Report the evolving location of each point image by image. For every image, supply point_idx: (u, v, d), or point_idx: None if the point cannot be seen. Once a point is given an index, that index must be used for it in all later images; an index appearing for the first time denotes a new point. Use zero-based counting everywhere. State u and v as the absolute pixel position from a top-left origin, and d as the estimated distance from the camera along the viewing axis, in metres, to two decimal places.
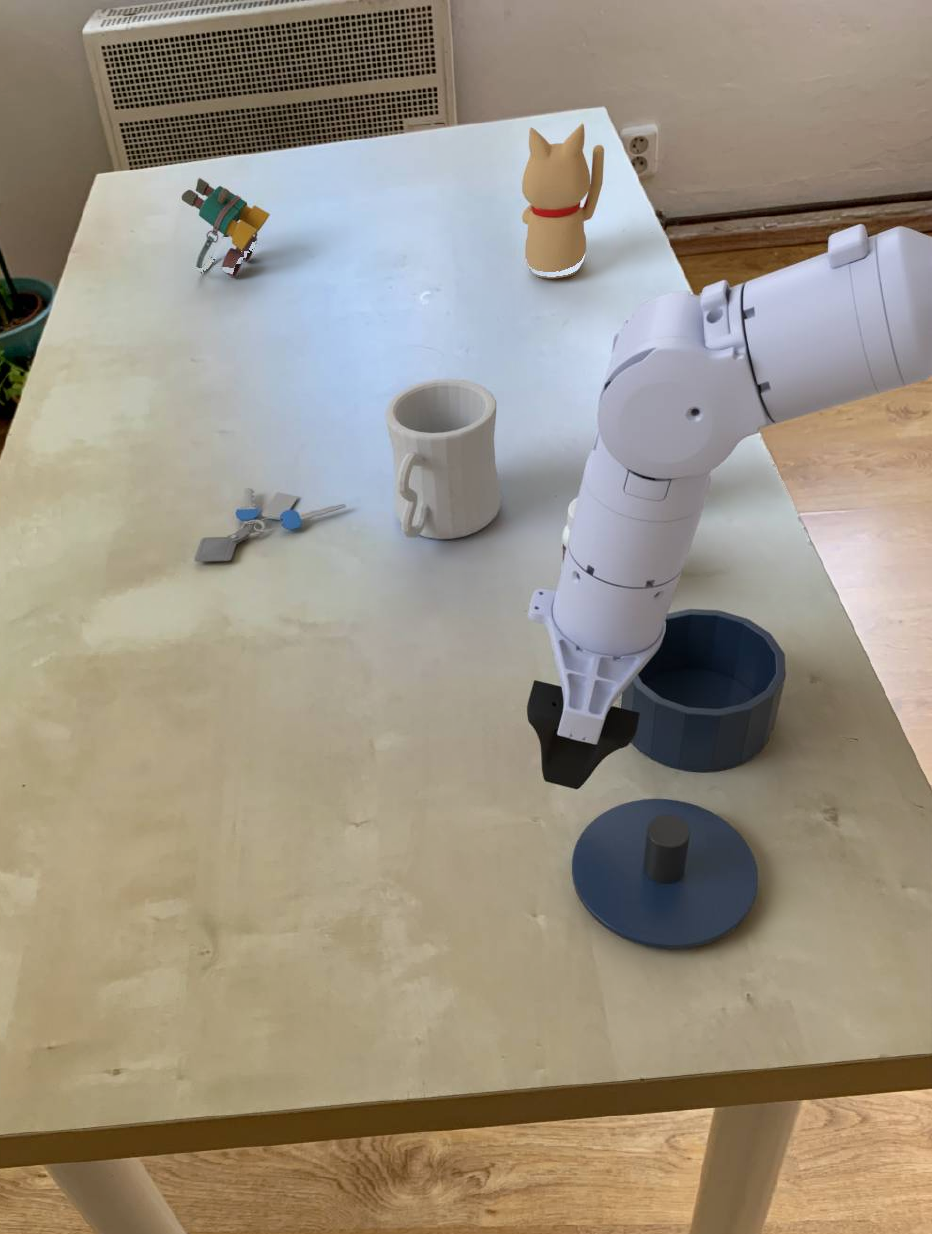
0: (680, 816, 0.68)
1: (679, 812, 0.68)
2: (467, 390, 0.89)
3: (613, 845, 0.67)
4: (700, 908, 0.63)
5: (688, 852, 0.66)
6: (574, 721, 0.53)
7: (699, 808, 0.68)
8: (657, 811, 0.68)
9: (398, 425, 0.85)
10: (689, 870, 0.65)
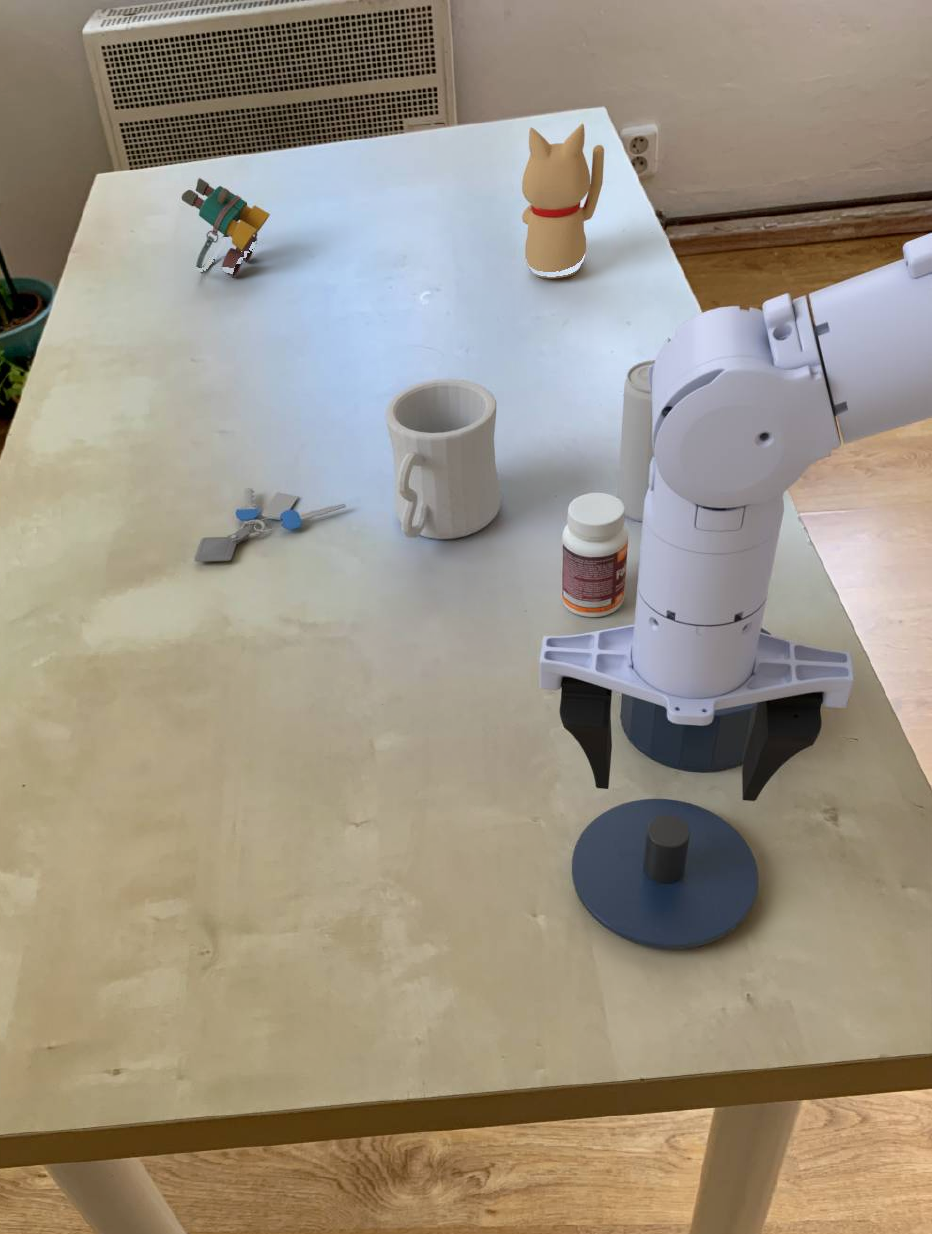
0: (680, 816, 0.68)
1: (679, 812, 0.68)
2: (467, 390, 0.89)
3: (613, 845, 0.67)
4: (700, 908, 0.63)
5: (688, 852, 0.66)
6: None
7: (699, 808, 0.68)
8: (657, 811, 0.68)
9: (398, 425, 0.85)
10: (689, 870, 0.65)
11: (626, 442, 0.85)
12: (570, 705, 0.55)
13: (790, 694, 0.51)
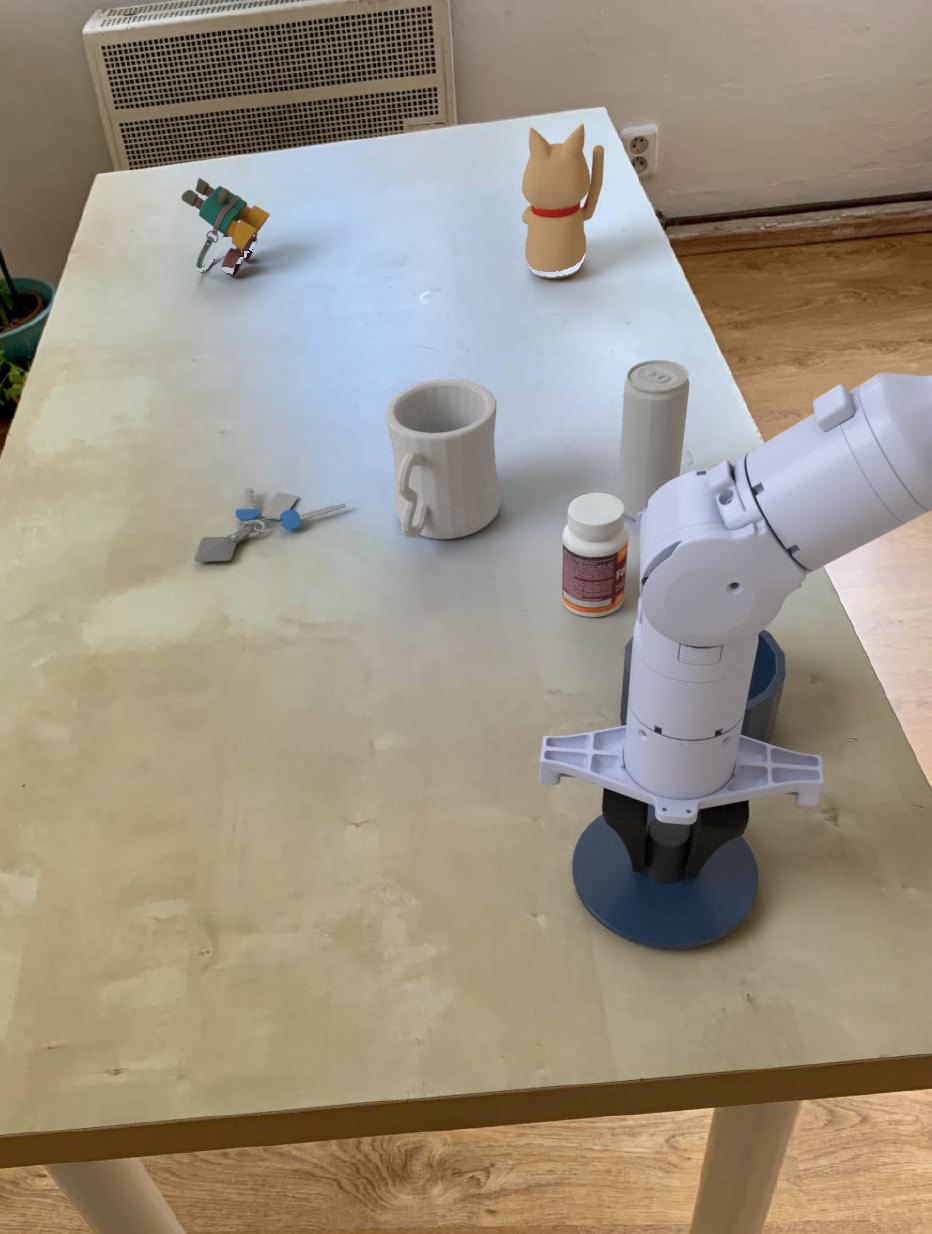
0: None
1: None
2: (467, 390, 0.89)
3: (613, 845, 0.67)
4: (700, 908, 0.63)
5: None
6: None
7: None
8: None
9: (398, 425, 0.85)
10: None
11: (626, 442, 0.85)
12: (611, 803, 0.59)
13: (767, 795, 0.56)
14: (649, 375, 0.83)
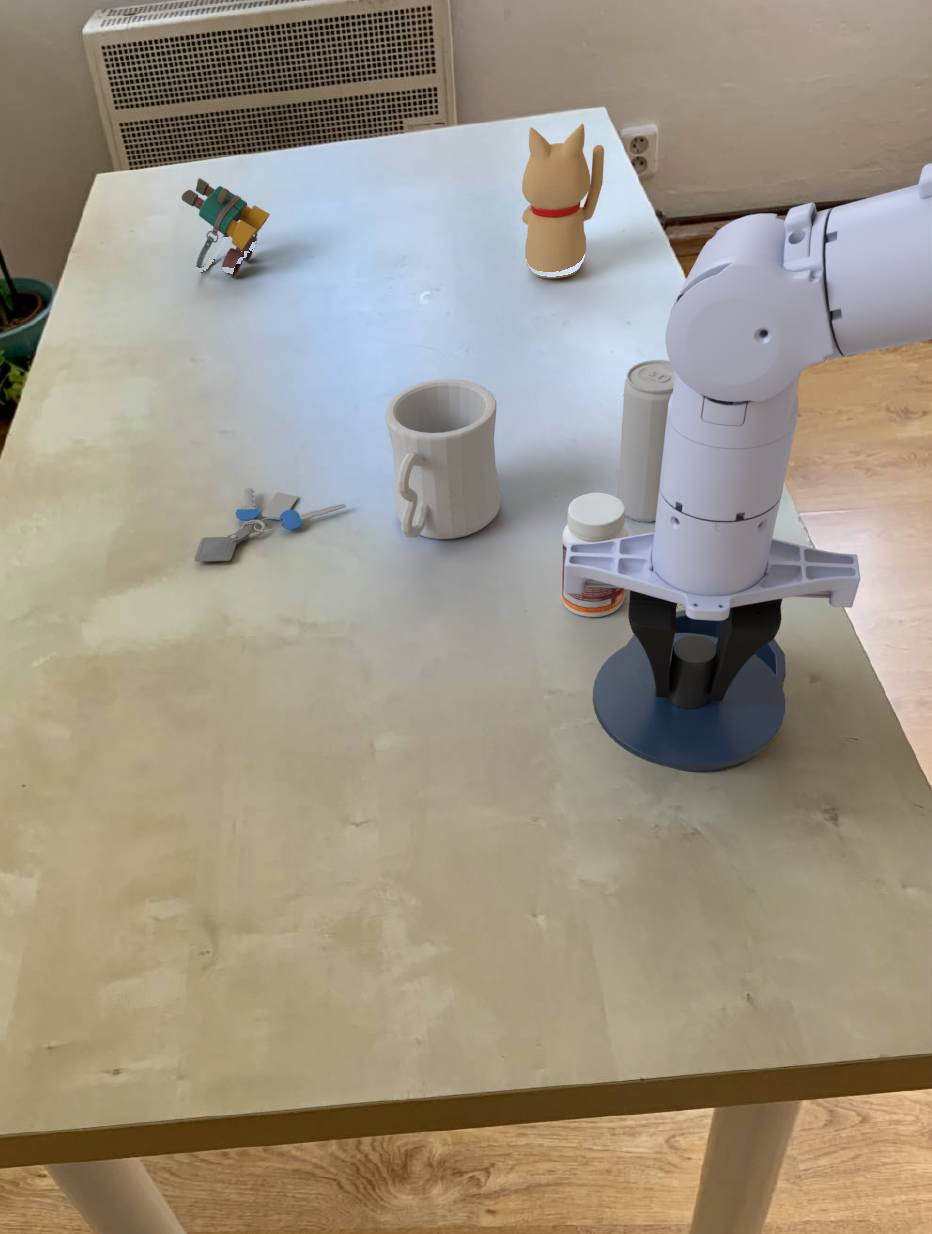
0: None
1: None
2: (467, 390, 0.89)
3: (635, 675, 0.65)
4: (726, 731, 0.61)
5: None
6: None
7: None
8: None
9: (398, 425, 0.85)
10: None
11: (626, 442, 0.85)
12: (638, 610, 0.57)
13: (800, 593, 0.55)
14: (649, 375, 0.83)
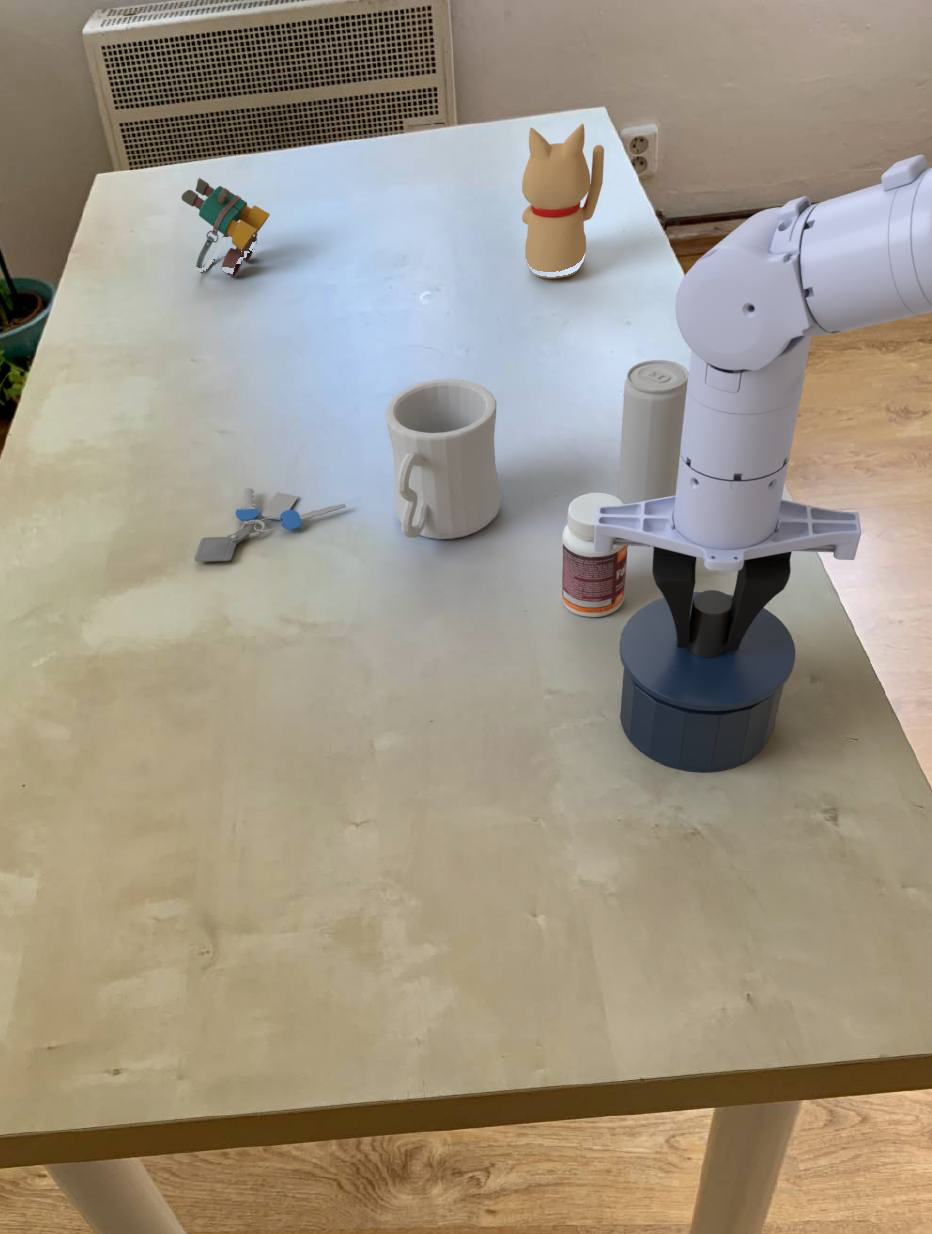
0: None
1: None
2: (467, 390, 0.89)
3: (658, 629, 0.71)
4: (742, 676, 0.67)
5: None
6: None
7: None
8: None
9: (398, 425, 0.85)
10: None
11: (626, 442, 0.85)
12: (661, 565, 0.64)
13: (807, 546, 0.61)
14: (649, 375, 0.83)
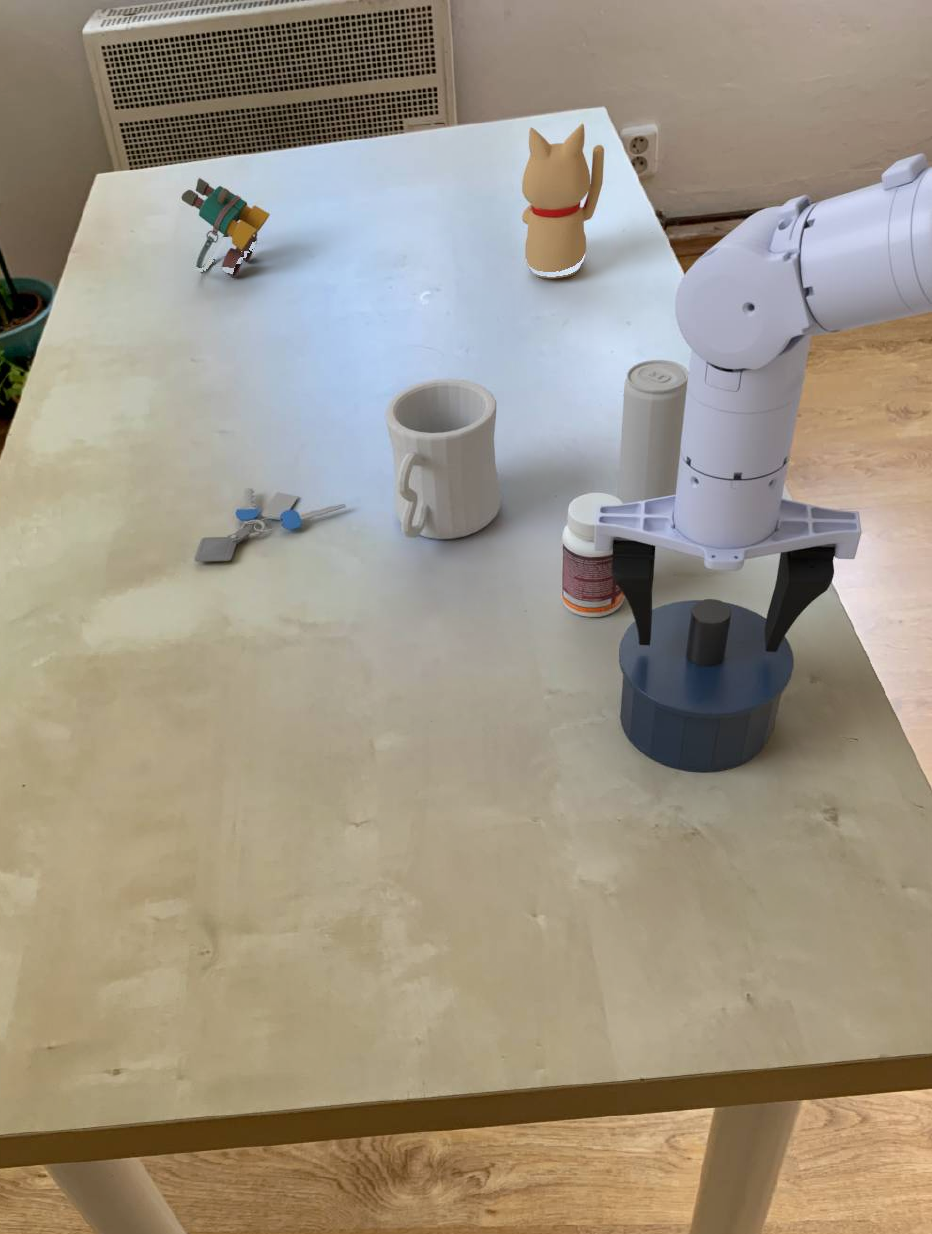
0: None
1: None
2: (467, 390, 0.89)
3: (657, 637, 0.72)
4: (740, 684, 0.68)
5: (727, 641, 0.71)
6: None
7: (737, 606, 0.73)
8: None
9: (398, 425, 0.85)
10: (729, 655, 0.70)
11: (626, 442, 0.85)
12: (620, 563, 0.64)
13: (808, 545, 0.61)
14: (649, 375, 0.83)
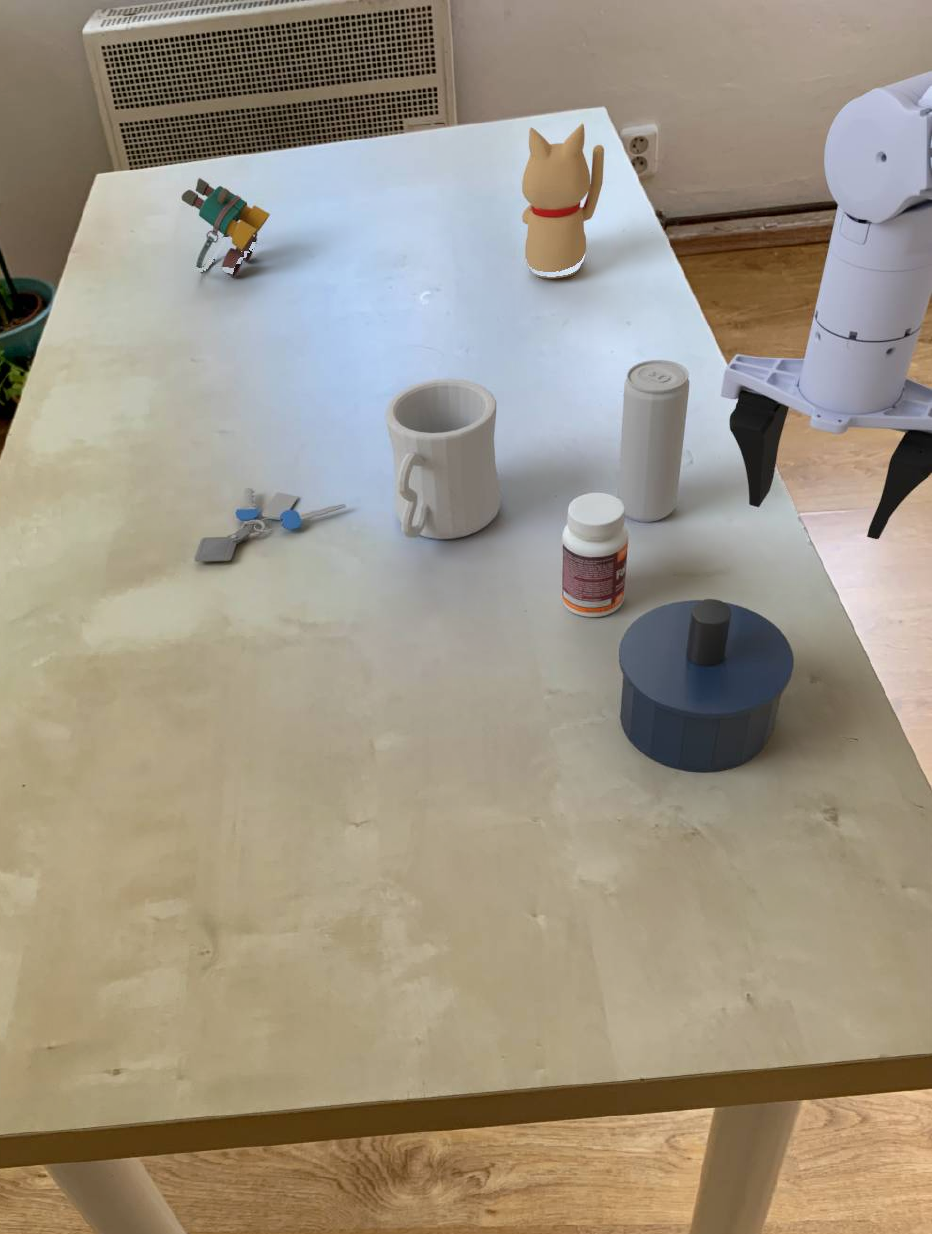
0: None
1: None
2: (467, 390, 0.89)
3: (657, 637, 0.72)
4: (740, 684, 0.68)
5: (727, 641, 0.71)
6: None
7: (737, 606, 0.73)
8: None
9: (398, 425, 0.85)
10: (729, 655, 0.70)
11: (626, 442, 0.85)
12: (740, 413, 0.68)
13: (919, 427, 0.62)
14: (649, 375, 0.83)
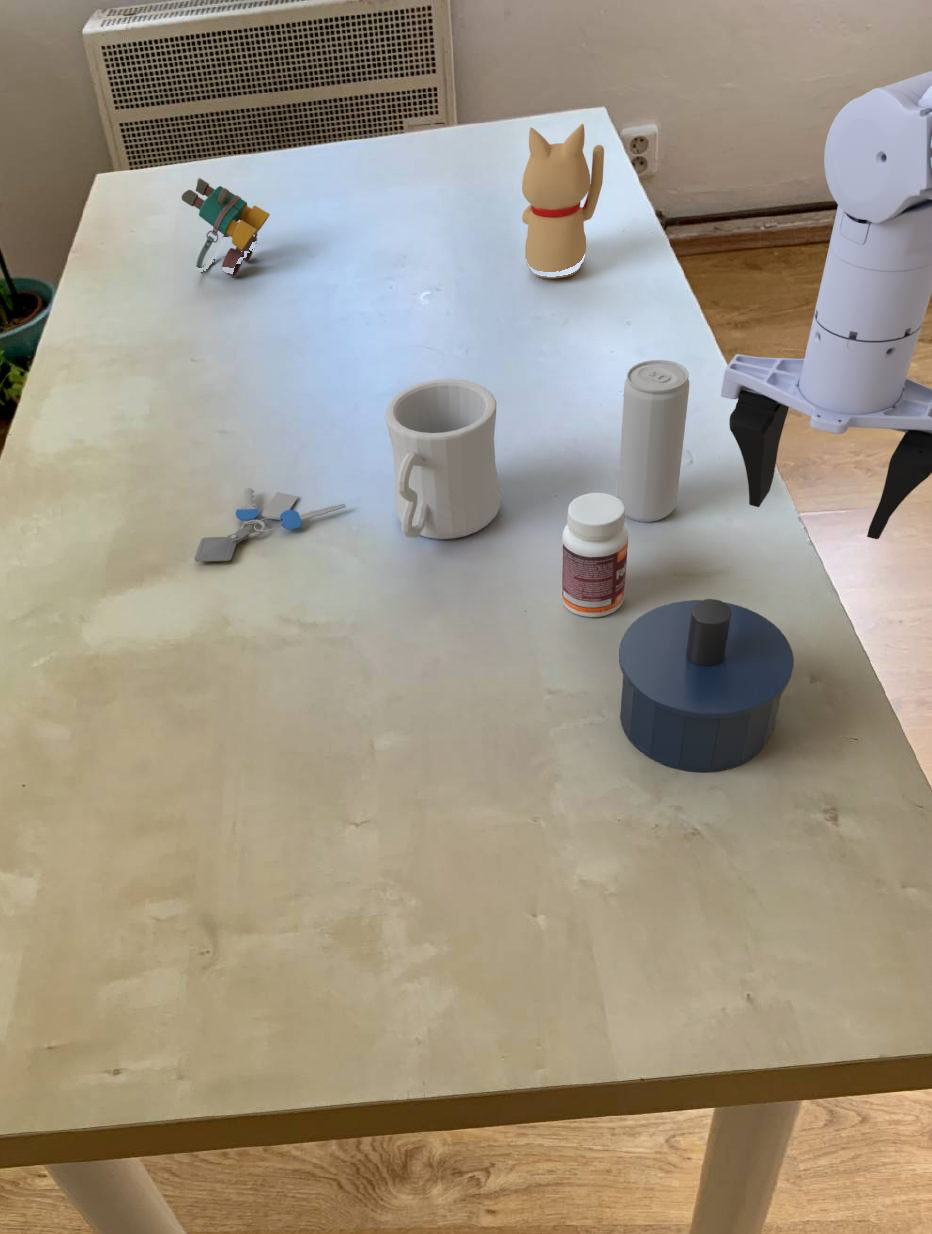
0: None
1: None
2: (467, 390, 0.89)
3: (657, 637, 0.72)
4: (740, 684, 0.68)
5: (727, 641, 0.71)
6: None
7: (737, 606, 0.73)
8: None
9: (398, 425, 0.85)
10: (729, 655, 0.70)
11: (626, 442, 0.85)
12: (740, 413, 0.68)
13: (919, 427, 0.62)
14: (649, 375, 0.83)
